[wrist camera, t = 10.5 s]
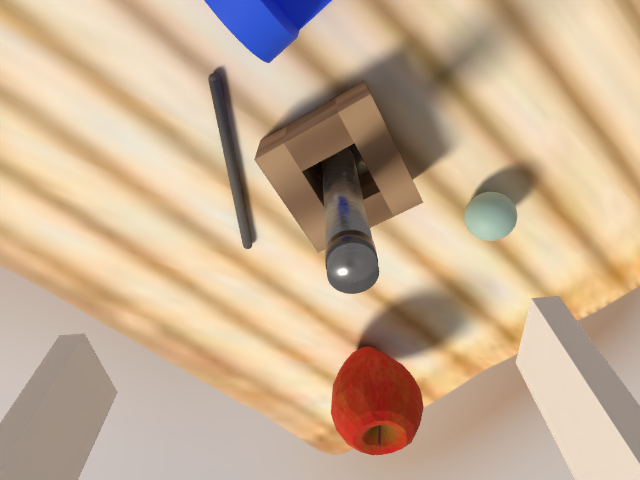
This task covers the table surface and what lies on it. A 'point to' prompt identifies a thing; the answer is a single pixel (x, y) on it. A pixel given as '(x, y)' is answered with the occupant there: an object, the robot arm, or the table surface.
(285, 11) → the bracket
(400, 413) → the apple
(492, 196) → the loose teal bead
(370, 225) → the square wooden ring
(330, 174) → the grey metal cylinder rod
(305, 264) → the table surface
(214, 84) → the thin dark grey rod
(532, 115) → the table surface
